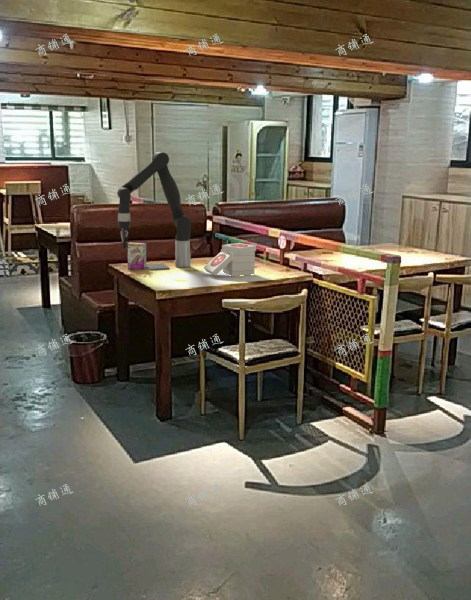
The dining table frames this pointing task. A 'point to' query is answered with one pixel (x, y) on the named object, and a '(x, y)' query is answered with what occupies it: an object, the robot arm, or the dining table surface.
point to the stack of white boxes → (233, 260)
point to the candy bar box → (136, 255)
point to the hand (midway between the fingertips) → (124, 247)
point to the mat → (157, 267)
